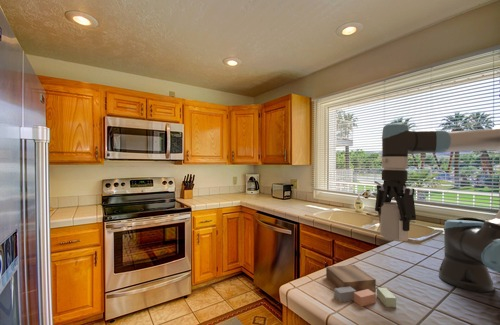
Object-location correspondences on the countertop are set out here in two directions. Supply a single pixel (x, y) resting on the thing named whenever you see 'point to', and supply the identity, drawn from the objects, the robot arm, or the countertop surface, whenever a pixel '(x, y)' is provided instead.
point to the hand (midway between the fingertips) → (393, 236)
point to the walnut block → (350, 277)
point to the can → (390, 221)
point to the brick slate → (344, 293)
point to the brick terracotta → (364, 297)
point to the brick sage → (386, 297)
